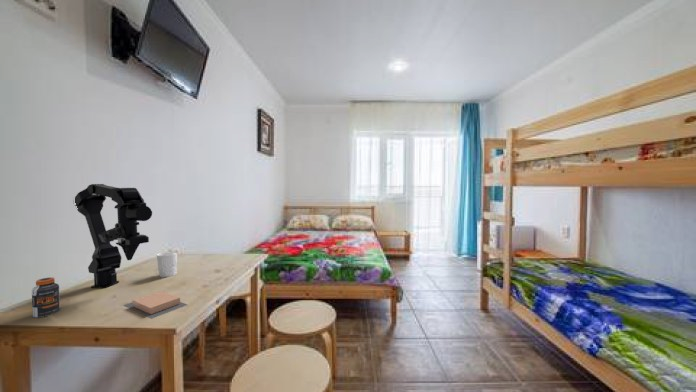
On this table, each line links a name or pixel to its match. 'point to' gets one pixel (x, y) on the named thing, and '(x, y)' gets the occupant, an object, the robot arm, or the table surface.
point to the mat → (130, 305)
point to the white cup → (167, 264)
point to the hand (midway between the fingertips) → (129, 260)
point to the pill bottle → (45, 297)
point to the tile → (156, 302)
